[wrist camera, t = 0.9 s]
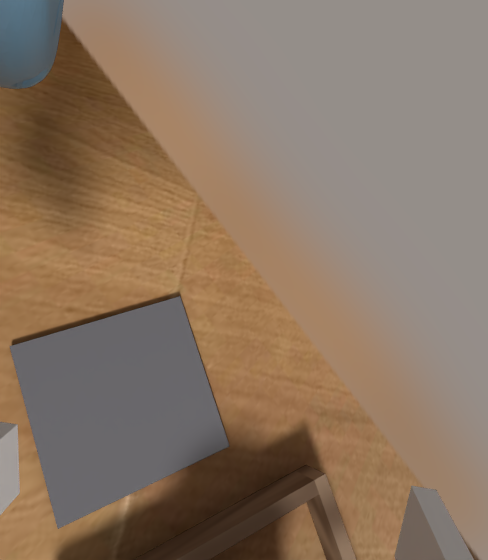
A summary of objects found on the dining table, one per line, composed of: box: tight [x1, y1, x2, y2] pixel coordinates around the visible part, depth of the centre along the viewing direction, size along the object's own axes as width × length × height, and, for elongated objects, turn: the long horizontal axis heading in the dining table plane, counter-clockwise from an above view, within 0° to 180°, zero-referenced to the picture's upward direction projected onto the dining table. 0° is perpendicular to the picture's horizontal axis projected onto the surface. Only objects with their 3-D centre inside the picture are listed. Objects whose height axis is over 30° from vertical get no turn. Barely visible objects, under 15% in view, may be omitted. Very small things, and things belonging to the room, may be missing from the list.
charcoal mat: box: [10, 296, 229, 529], centre depth 27 cm, size 12×12×1 cm
